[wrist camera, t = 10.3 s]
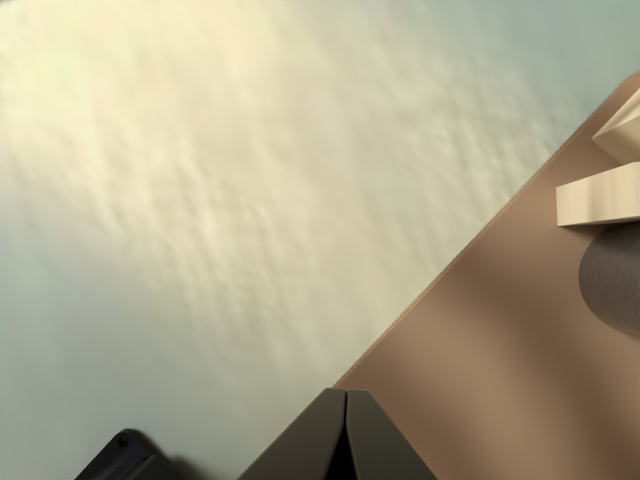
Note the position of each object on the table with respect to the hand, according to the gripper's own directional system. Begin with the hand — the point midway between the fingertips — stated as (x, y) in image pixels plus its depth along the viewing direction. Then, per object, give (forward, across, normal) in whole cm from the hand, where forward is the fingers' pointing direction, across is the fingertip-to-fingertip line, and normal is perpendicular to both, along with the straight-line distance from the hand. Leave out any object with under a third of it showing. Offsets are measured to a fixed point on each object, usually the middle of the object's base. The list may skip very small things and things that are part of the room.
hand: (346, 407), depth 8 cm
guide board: (+10, +8, -6) cm, 14 cm away
